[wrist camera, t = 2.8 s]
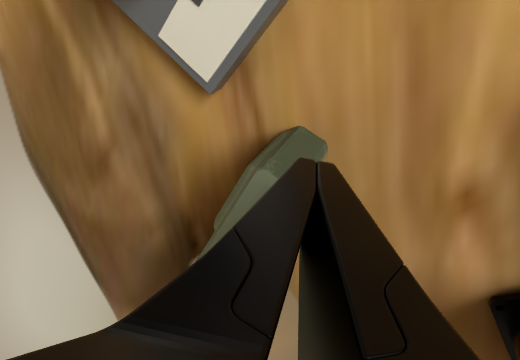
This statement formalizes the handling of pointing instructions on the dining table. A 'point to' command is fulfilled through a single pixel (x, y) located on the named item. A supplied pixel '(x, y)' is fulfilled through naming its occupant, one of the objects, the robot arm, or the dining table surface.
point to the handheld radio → (265, 176)
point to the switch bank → (204, 32)
